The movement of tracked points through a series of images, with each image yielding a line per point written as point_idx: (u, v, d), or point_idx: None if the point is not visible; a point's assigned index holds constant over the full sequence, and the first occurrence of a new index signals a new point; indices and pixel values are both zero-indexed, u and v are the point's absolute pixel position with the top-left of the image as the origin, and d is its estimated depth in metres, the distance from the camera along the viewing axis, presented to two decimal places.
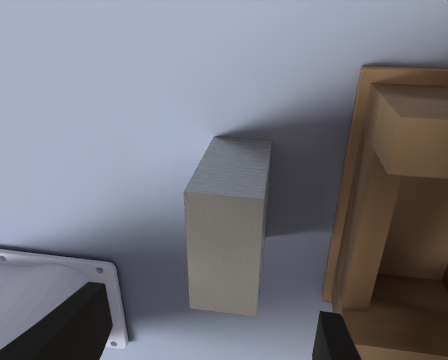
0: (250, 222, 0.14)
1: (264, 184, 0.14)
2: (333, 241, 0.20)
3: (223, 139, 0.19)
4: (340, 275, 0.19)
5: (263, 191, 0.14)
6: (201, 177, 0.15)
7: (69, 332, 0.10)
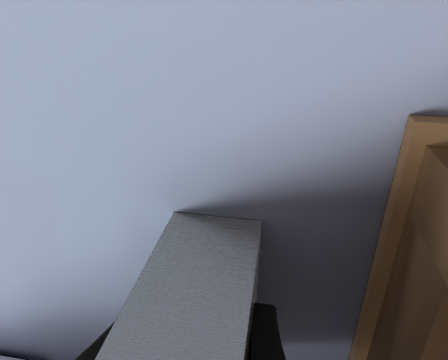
0: None
1: (242, 346, 0.08)
2: None
3: (186, 220, 0.12)
4: None
5: None
6: (130, 324, 0.08)
7: None
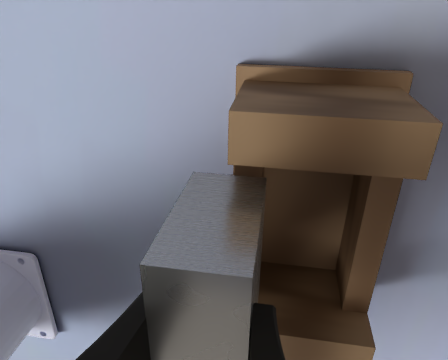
0: (234, 308, 0.10)
1: (254, 251, 0.10)
2: None
3: (204, 177, 0.15)
4: None
5: (252, 263, 0.10)
6: (168, 238, 0.11)
7: (137, 342, 0.10)
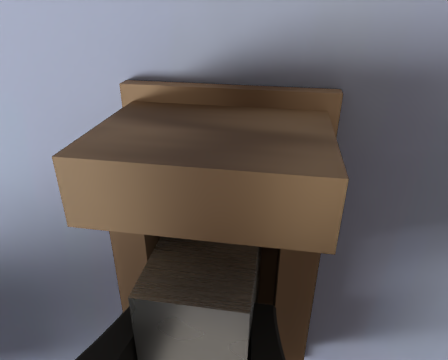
0: (230, 343, 0.09)
1: (251, 280, 0.10)
2: None
3: None
4: None
5: (249, 296, 0.09)
6: (159, 265, 0.10)
7: None
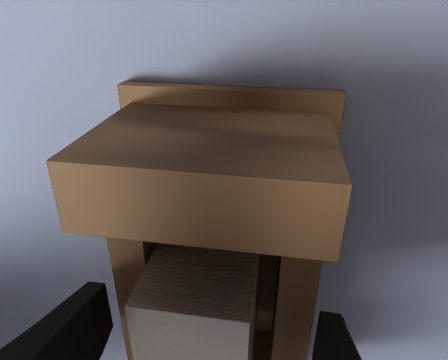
0: (230, 353, 0.09)
1: (251, 287, 0.09)
2: None
3: None
4: None
5: (249, 304, 0.09)
6: (157, 271, 0.10)
7: (69, 332, 0.10)
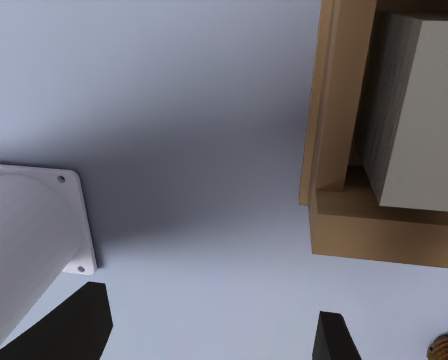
0: None
1: None
2: (308, 128, 0.18)
3: (394, 11, 0.15)
4: (314, 161, 0.17)
5: None
6: (423, 17, 0.11)
7: (69, 332, 0.10)
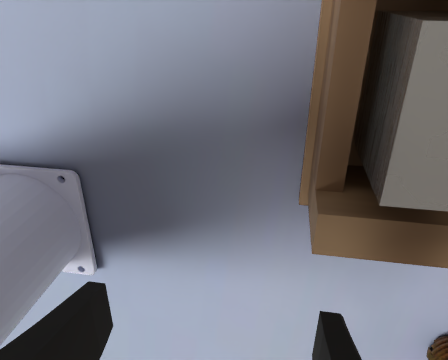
0: None
1: None
2: (308, 128, 0.18)
3: (394, 11, 0.15)
4: (314, 161, 0.17)
5: None
6: (423, 17, 0.11)
7: (69, 332, 0.10)
